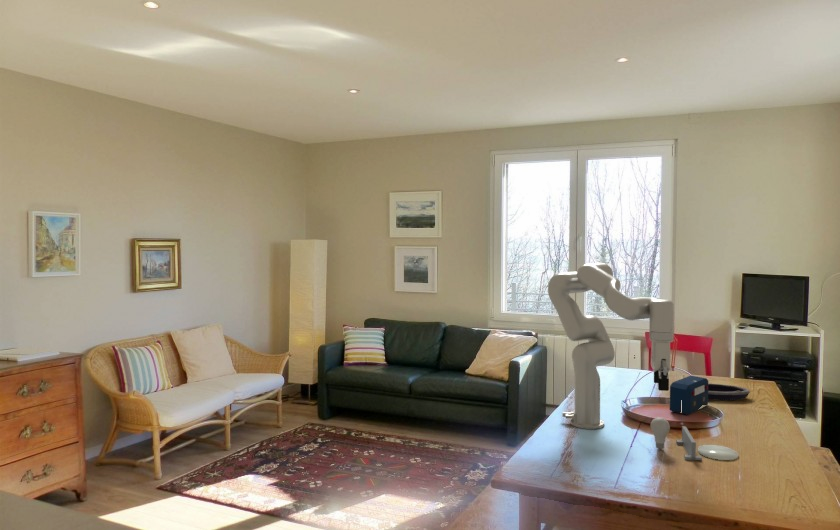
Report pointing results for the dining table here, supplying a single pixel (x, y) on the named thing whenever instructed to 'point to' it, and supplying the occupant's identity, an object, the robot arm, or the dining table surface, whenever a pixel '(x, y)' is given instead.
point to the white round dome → (717, 452)
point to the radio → (688, 394)
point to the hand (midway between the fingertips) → (661, 386)
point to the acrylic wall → (688, 445)
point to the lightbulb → (660, 431)
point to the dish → (726, 392)
